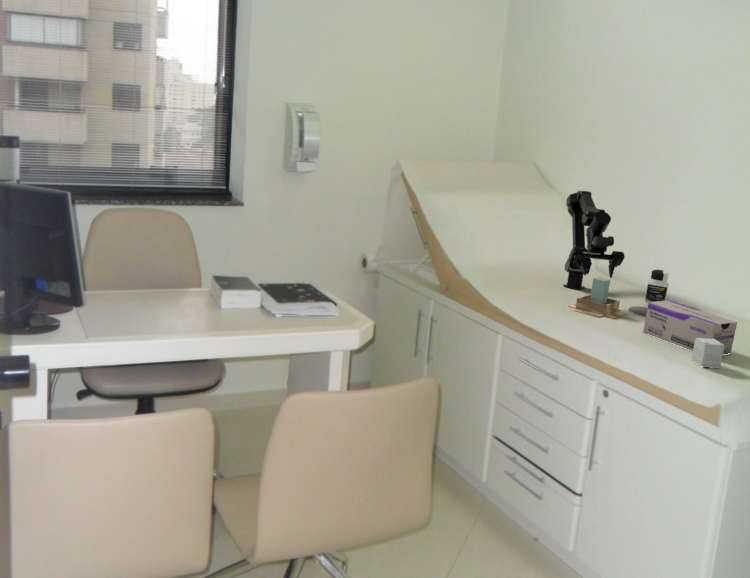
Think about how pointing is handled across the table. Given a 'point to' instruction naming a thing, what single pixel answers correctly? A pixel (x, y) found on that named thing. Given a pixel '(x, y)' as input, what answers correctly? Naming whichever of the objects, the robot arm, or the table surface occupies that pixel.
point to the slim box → (600, 290)
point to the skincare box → (708, 352)
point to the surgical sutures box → (687, 325)
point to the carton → (597, 307)
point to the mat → (638, 310)
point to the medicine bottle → (657, 286)
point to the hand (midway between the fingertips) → (598, 276)
